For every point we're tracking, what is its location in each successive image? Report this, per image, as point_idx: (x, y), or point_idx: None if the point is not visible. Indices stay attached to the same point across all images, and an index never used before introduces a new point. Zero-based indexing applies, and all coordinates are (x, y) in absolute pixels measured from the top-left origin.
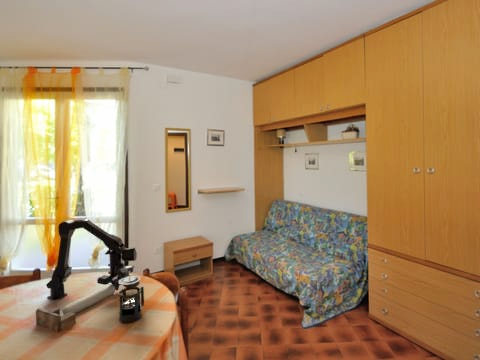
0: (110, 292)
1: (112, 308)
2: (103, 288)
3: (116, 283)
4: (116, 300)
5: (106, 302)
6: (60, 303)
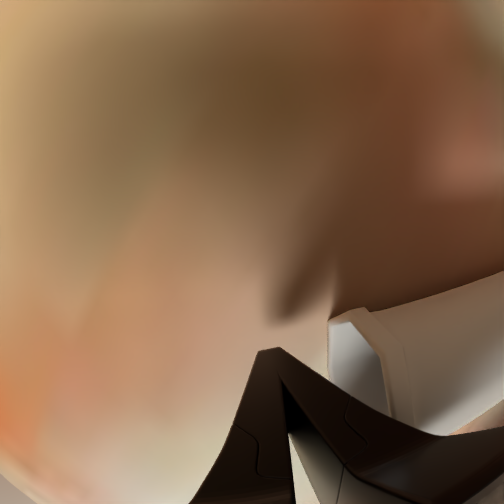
0: (434, 308)
1: (497, 34)
2: (496, 394)
3: (377, 427)
4: (424, 110)
5: (485, 188)
6: (495, 421)
